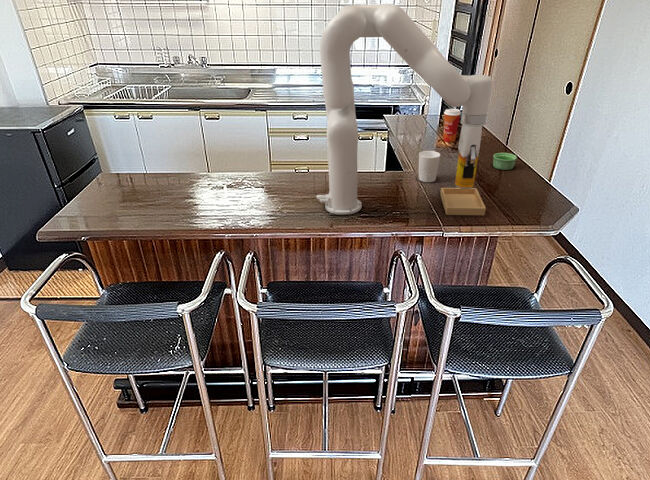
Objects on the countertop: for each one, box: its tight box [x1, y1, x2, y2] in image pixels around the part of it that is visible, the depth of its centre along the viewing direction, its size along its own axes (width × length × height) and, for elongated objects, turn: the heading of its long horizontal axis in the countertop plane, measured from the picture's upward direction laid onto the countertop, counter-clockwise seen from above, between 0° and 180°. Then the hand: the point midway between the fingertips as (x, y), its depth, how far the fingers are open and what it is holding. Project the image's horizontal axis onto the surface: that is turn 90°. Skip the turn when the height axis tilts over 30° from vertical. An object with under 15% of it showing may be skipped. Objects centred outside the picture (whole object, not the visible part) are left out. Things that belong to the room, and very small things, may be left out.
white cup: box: [418, 150, 441, 183], centre depth 167 cm, size 8×8×10 cm
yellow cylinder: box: [454, 144, 480, 189], centre depth 143 cm, size 6×6×15 cm
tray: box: [439, 187, 487, 216], centre depth 150 cm, size 12×16×3 cm
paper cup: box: [442, 108, 462, 143], centre depth 206 cm, size 8×8×14 cm
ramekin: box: [492, 152, 518, 171], centre depth 178 cm, size 9×9×4 cm
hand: (465, 173), depth 144 cm, fingers closed on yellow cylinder, 6 cm apart
